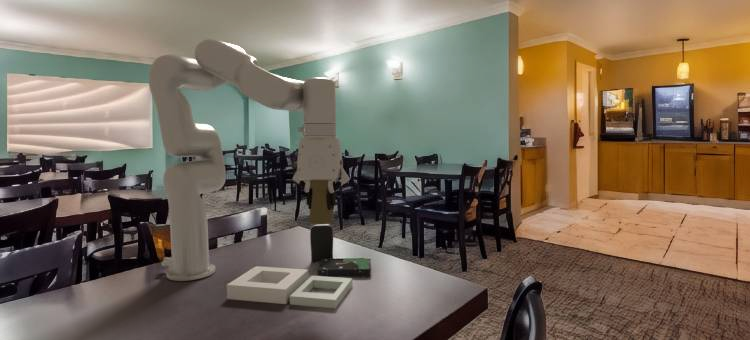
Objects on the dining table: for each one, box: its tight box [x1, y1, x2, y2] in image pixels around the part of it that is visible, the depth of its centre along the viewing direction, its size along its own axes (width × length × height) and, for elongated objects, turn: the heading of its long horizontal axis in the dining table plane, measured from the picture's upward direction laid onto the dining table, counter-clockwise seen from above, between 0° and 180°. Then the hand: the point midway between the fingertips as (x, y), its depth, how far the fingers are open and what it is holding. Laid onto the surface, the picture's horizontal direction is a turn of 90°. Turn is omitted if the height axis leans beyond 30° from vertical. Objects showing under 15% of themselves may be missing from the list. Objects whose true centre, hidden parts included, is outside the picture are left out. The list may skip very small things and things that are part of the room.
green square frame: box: [289, 275, 353, 310], centre depth 100 cm, size 11×14×2 cm
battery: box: [309, 223, 334, 263], centre depth 127 cm, size 7×4×11 cm, turn 99°
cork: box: [308, 180, 335, 225], centre depth 98 cm, size 6×6×11 cm
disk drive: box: [316, 257, 372, 278], centre depth 118 cm, size 10×3×15 cm
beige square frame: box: [226, 265, 309, 305], centre depth 103 cm, size 16×14×4 cm
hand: (321, 207), depth 98 cm, fingers closed on cork, 4 cm apart
